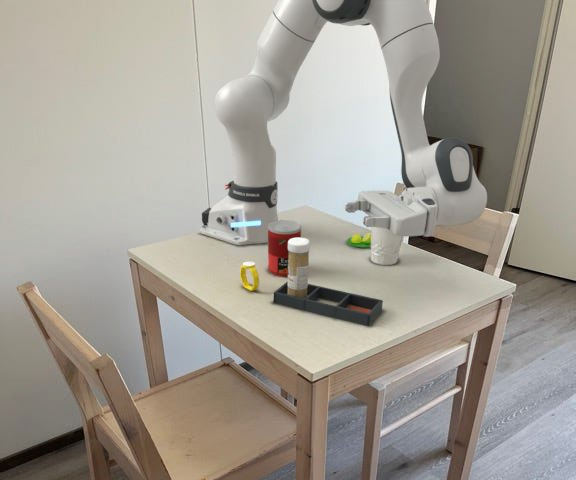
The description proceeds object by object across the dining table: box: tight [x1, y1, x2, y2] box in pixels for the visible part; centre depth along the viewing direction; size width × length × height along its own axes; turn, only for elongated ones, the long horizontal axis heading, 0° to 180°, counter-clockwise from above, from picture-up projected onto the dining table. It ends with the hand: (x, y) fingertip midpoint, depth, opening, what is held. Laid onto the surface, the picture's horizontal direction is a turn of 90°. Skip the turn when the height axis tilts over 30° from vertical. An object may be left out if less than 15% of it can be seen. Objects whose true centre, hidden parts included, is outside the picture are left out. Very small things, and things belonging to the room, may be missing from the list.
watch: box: [239, 261, 260, 292], centre depth 133 cm, size 6×3×6 cm, turn 35°
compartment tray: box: [273, 280, 384, 327], centre depth 127 cm, size 22×8×2 cm, turn 63°
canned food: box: [267, 219, 302, 277], centre depth 141 cm, size 8×8×11 cm
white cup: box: [370, 227, 403, 266], centre depth 147 cm, size 8×8×10 cm
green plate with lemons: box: [346, 232, 371, 249], centre depth 159 cm, size 8×8×3 cm
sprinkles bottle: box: [287, 237, 311, 298], centre depth 127 cm, size 5×5×13 cm
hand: (355, 214), depth 124 cm, fingers open, 8 cm apart
